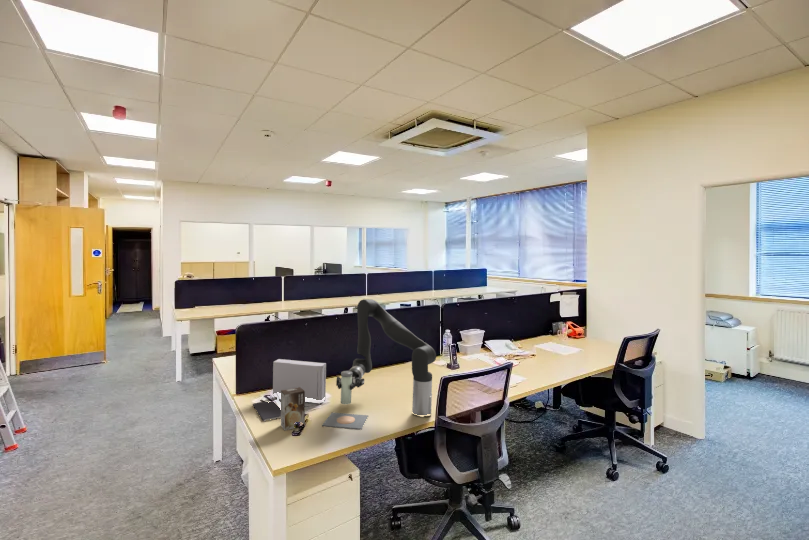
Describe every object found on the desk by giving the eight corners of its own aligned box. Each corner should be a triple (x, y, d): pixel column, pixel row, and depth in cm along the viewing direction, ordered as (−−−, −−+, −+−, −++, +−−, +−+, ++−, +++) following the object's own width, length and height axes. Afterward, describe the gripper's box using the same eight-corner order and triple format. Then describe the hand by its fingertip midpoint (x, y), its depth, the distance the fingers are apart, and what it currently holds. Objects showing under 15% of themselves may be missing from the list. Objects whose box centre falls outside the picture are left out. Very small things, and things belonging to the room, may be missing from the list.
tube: (352, 400, 179) (353, 371, 178) (349, 405, 174) (350, 374, 173) (342, 399, 180) (343, 370, 179) (338, 404, 175) (339, 373, 174)
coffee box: (300, 420, 176) (300, 386, 175) (304, 426, 171) (305, 390, 170) (280, 425, 171) (280, 389, 170) (284, 431, 166) (284, 394, 165)
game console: (320, 404, 195) (321, 366, 194) (272, 399, 200) (273, 361, 200) (325, 400, 201) (326, 363, 200) (278, 395, 206) (278, 358, 205)
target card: (368, 416, 183) (368, 415, 183) (361, 429, 169) (361, 428, 169) (331, 413, 185) (331, 412, 185) (322, 426, 171) (322, 424, 171)
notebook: (252, 406, 192) (263, 422, 174) (252, 403, 191) (263, 419, 174) (278, 401, 199) (291, 417, 181) (278, 398, 199) (291, 413, 181)
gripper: (340, 366, 191) (329, 378, 174) (368, 369, 189) (360, 380, 173) (340, 381, 192) (329, 394, 175) (368, 383, 190) (359, 396, 173)
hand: (344, 387), depth 174 cm, fingers closed on tube, 4 cm apart
